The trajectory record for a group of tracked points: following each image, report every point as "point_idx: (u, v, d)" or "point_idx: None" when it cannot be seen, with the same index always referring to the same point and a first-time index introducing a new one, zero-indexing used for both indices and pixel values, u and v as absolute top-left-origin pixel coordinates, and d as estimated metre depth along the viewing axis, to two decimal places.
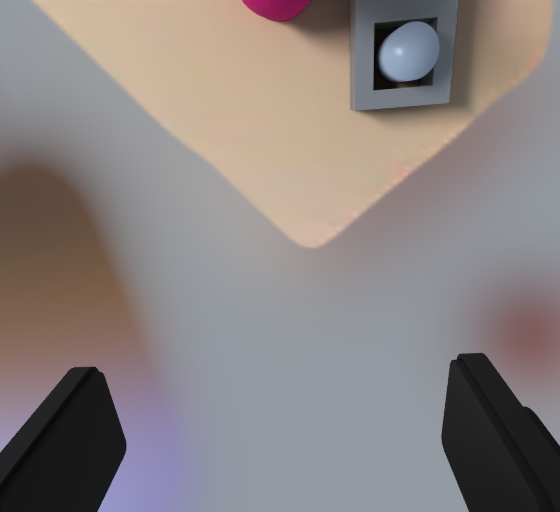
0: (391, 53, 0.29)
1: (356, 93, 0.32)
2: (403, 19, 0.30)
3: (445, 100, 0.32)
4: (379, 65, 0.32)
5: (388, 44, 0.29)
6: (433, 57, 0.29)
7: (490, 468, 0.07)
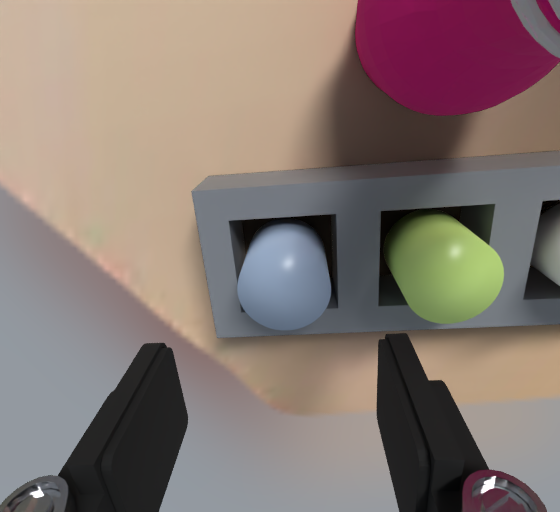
0: (281, 256, 0.15)
1: (221, 190, 0.17)
2: (338, 259, 0.18)
3: (220, 332, 0.20)
4: (271, 226, 0.18)
5: (296, 249, 0.15)
6: (275, 323, 0.17)
7: (398, 431, 0.08)
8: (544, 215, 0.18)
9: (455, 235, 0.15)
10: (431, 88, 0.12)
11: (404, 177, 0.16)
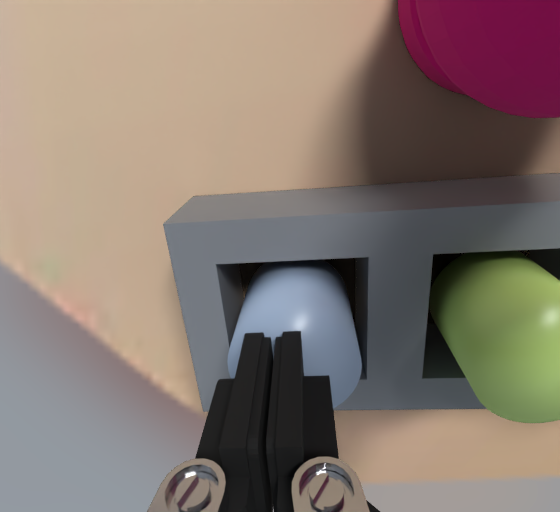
0: (291, 322, 0.11)
1: (205, 223, 0.12)
2: (369, 317, 0.13)
3: (207, 405, 0.15)
4: (276, 267, 0.13)
5: (313, 312, 0.10)
6: None
7: None
8: None
9: (558, 301, 0.10)
10: (558, 71, 0.07)
11: (471, 207, 0.11)
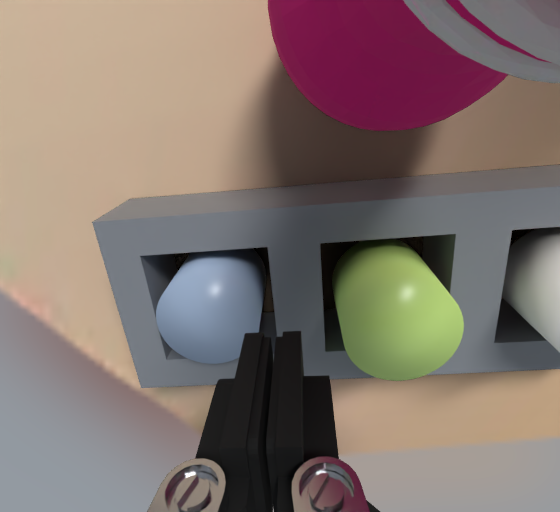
0: (201, 285, 0.14)
1: (128, 221, 0.14)
2: (274, 299, 0.15)
3: (144, 382, 0.17)
4: None
5: (217, 277, 0.14)
6: (201, 356, 0.15)
7: None
8: (517, 244, 0.15)
9: (402, 277, 0.12)
10: (353, 99, 0.09)
11: (345, 204, 0.13)
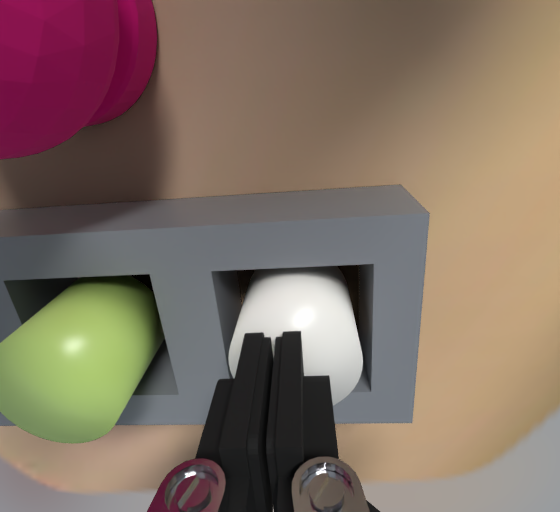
0: None
1: None
2: None
3: None
4: None
5: None
6: None
7: None
8: (257, 269, 0.14)
9: (32, 331, 0.10)
10: None
11: (15, 237, 0.12)
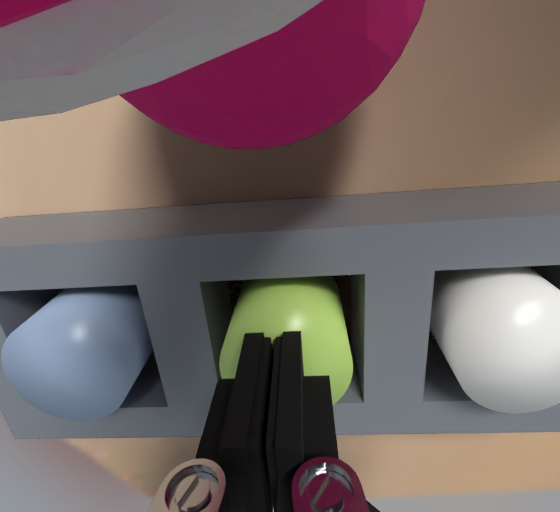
0: (49, 332, 0.11)
1: None
2: (154, 345, 0.13)
3: (17, 432, 0.14)
4: None
5: (67, 323, 0.11)
6: (64, 412, 0.12)
7: None
8: None
9: (280, 308, 0.11)
10: (152, 110, 0.06)
11: (224, 235, 0.11)
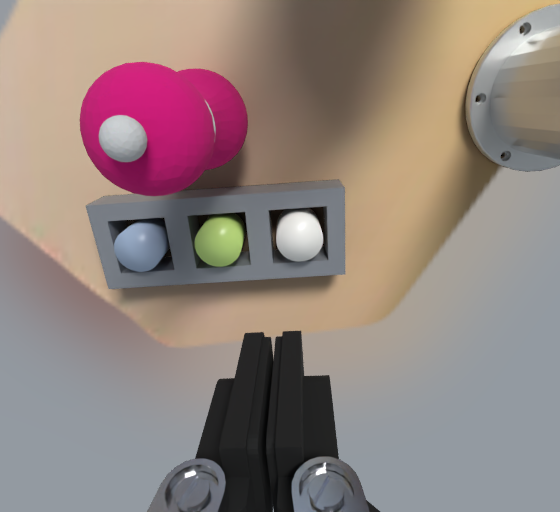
0: (133, 233, 0.32)
1: (101, 205, 0.32)
2: (169, 242, 0.33)
3: (110, 285, 0.35)
4: (138, 219, 0.34)
5: (140, 229, 0.32)
6: (135, 267, 0.33)
7: None
8: (281, 213, 0.35)
9: (215, 222, 0.31)
10: None
11: (195, 198, 0.32)
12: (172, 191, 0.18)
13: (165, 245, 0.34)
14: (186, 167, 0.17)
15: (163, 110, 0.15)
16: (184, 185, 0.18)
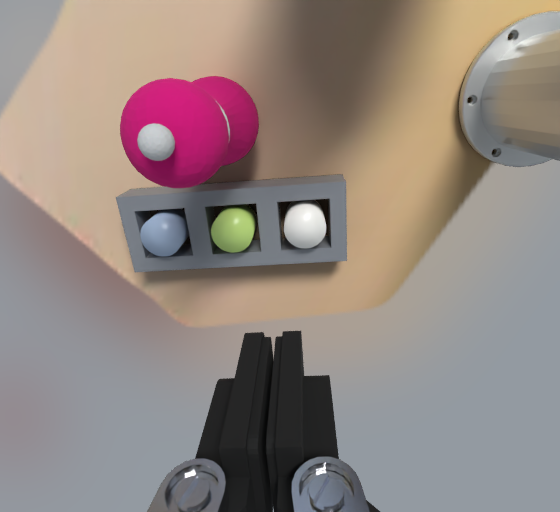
0: (157, 222, 0.36)
1: (129, 197, 0.36)
2: (189, 230, 0.37)
3: (136, 269, 0.39)
4: (161, 210, 0.38)
5: (163, 218, 0.36)
6: (159, 253, 0.37)
7: None
8: (289, 205, 0.38)
9: (229, 212, 0.35)
10: None
11: (212, 191, 0.35)
12: (193, 184, 0.22)
13: (185, 233, 0.38)
14: (205, 164, 0.20)
15: (187, 119, 0.19)
16: (203, 179, 0.22)
